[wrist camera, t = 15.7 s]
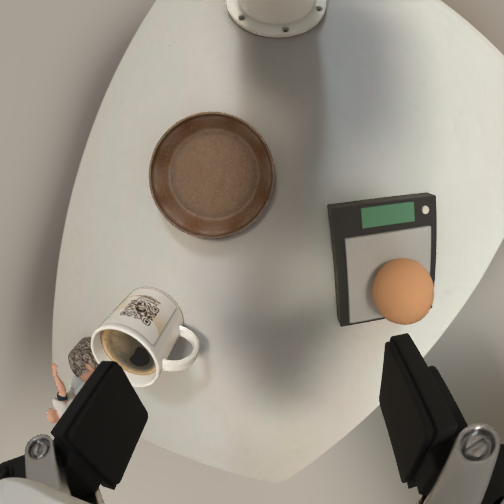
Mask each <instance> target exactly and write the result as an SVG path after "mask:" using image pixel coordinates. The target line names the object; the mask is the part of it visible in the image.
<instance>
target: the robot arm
mask: <svg viewBox="0 0 504 504" xmlns="http://www.w3.org/2000/svg"><path fill="white" fill-rule="evenodd" d="M326 5H327V0H226V7H227V9H228V12H229V14H230V16H231V17H232V19H233V20H234V21H235V22H236V23H237V24H238V25H240V26H241V27H242V28H244V29H246V30H247V31H249V32H251V33H254V34H257V35H261V36H266V37H276V38H282V37H291V36H295V35H299V34H302V33H304V32H307V31H308V30H310V29H311V28H313V27H314V26H315V25H317V24H318V23H319V22H320V20H321V19H322V17H323V16H324V13H325V10H326ZM317 10H318V11H317ZM242 19H244V20H243V21H241V20H242ZM283 31H287V32H283ZM379 401H380V406H381V410H382V413H383V416H384V420H385V423H386V426H387V430H388V433H389V437H390V440H391V444H392V447H393V451H394V455H395V458H396V462H397V466H398V470H399V473H400V478H401V481H402V482H403V483H405V482H407V484H408V488H409V489H410V488H413V487H416V486H417V487H418V491H419V494H421V497H420V498H419V500H418V502H417V503H416V504H504V445H503V444H500V438H499V435H498V433H497V432H496V430H495V429H493V428H492V427H491V426H488V425H486V424H473V425H470V426H468V425H467V423H466V421H465V419H464V417H463V416H462V414H461V412H460V410H459V408H458V406H457V404H456V402H455V401H454V399H453V397H452V395H451V393H450V391H449V389H448V387H447V386H446V384H445V382H444V380H443V378H442V377H441V375H440V373H439V372H438V370H437V369H436V367H434V366H430V367H428V366H427V364H426V363H425V361H424V359H423V357H422V356H421V354H420V352H419V350H418V349H417V347H416V345H415V344H414V342H413V340H412V339H411V337H410V335H409V334H408V333H405V334H401V335H397V336H392V337H391V338H390V342H386V344H385V352H384V363H383V372H382V380H381V388H380V395H379ZM147 419H148V413H147V411H146V409H145V407H144V406H143V404H142V402H141V401H140V399H139V397H138V395H137V394H136V392H135V390H134V388H133V387H132V385H131V383H130V381H129V379H128V377H127V376H126V374H125V372H124V370H123V368H122V367H121V366H120V365H119V364H118V363H117V362H116V361H101V362H100V363H99V365H98V366H97V367H96V369H95V370H94V371H93V373H92V374H91V376H90V377H89V378H88V380H87V381H86V382H85V384H84V385H83V387H82V388H81V389H80V391H79V392H78V394H77V395H76V396H75V398H74V399H73V401H72V402H71V403H70V405H69V406H68V408H67V409H66V411H65V412H64V413H63V415H62V416H61V418H60V419H59V421H58V422H57V424H56V425H55V427H54V428H53V430H52V431H51V434H52V435H53V436H54V437H55V438H54V440H52V439H51V437H50V436H48V435H45V434H41V435H37V436H35V437H33V438H32V439H31V440H30V441H29V442H28V443H27V445H26V448H25V455H23V456H20V457H17V458H14V459H12V460H9V461H6V462H3V463H1V464H0V504H104V501H103V498H102V495H101V492H100V490H99V485H100V484H101V485H102V486H104V487H107V488H110V489H113V490H114V489H115V487H116V485H117V484H119V483H120V481H121V479H122V477H123V474H124V472H125V470H126V467H127V465H128V463H129V461H130V458H131V456H132V453H133V451H134V449H135V447H136V444H137V442H138V440H139V438H140V435H141V433H142V431H143V429H144V426H145V424H146V422H147Z"/></svg>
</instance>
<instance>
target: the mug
mask: <svg viewBox="0 0 504 504" xmlns="http://www.w3.org/2000/svg"><path fill="white" fill-rule="evenodd" d="M179 336H181V337H184V338H186V339H187V340H188V341H189V342H190V343H191V344H192V347H193V351H192V352H191V354H190V355H189V356H187V357H186V358H183V359H181V360H167V359H168V357H169V355H170V353H171V351H172V349H173V347H174V345H175V343H176V341H177V339H178V337H179ZM91 350H92V353H93V356H94V358H95V360H96V361H97V363H98V364H99V363H100V362H101V361H116V362H117V363H118V364H119V365H120V366H121V367H122V368H123V370H124V372H125V374H126V376H127V377H128V379H129V381H130V383H131V385H132V387H146V386H149V385H151V384H153V383H154V382H155V381H156V380H157V379H158V377H159V375H160V373H161V371H162V370H166V371H180V370H183V369H185V368H188V367H189V366H190V365H192V364H193V363H194V361H195V360H196V358H197V355H198V350H199V341H198V338H197V336H196V335H195V334H194V333H193V332H192V331H191V330H189V329H188V328H186V327H183V316H182V313H181V310H180V308H179V306H178V305H177V303H176V302H175V301H174V300H173V299H172V298H171V297H170V296H169V295H168V294H166V293H165V292H163V291H161V290H159V289H156V288H152V287H141V288H137V289H135V290H133V291H132V292H131V293H130V294H129V295H128V296H127V297H126V298H125V299H124V300H123V301H122V302H121V303H120V304H119V305H118V306H117V307H116V308H115V310H114V311H113V312H112V313H111V314H110V315H109V316H108V317H107V318H106V319H105V320H104V322H103V323H102V324H101V325H100V326H99V327H98V328H97V329H96V330H95V332H94V333H93V335H92V337H91Z"/></svg>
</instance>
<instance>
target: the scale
mask: <svg viewBox="0 0 504 504" xmlns="http://www.w3.org/2000/svg"><path fill="white" fill-rule="evenodd" d="M328 213H329V222H330V230H331V240H332V249H333V260H334V271H335V284H336V298H337V315H338V320H339V323H340V326H341V327H342V326H348V325H353V324H359V323H364V322H370V321H375V320H380V319H385V317H383V316H382V315H381V314H380V312H379V311H378V309H377V308H376V306H375V304H374V301H373V296H372V287H373V281H374V278H375V276H376V274H377V273H378V271H379V270H380V269H381V268H382V267H383V266H384V265H385V264H386V263H388V262H389V261H392V260H394V259H398V258H409V259H412V260H415V261H417V262H418V263H420V264H421V265H422V266H424V268H425V269H426V270H427V271H428V272H429V274H430V276H431V279H432V281H433V285H434V281H435V265H436V196H435V195H432V194H429V193H419V194H410V195H401V196H392V197H384V198H376V199H368V200H360V201H352V202H345V203H337V204H330V205H328ZM431 308H432V306H431Z"/></svg>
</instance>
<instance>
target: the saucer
mask: <svg viewBox="0 0 504 504" xmlns="http://www.w3.org/2000/svg"><path fill="white" fill-rule="evenodd" d="M274 176H275V172H274V164H273V159H272V156H271V153H270V150H269V148H268V146H267V144H266V142H265V141H264V139H263V138H262V136H261V135H260V134H259V133H258V132H257V131H256V130H255V129H254V128H253V127H252V126H251V125H249V124H248V123H247V122H245V121H243V120H242V119H240V118H238V117H235V116H233V115H230V114H226V113H221V112H203V113H198V114H194V115H191V116H188V117H186V118H184V119H182V120H180V121H179V122H177V123H176V124H174V125H173V126H172V127H171V128H170V129H169V130H167V132H166V133H165V134H164V135H163V136H162V137H161V139H160V140H159V142H158V143H157V145H156V147H155V149H154V152H153V155H152V158H151V162H150V167H149V184H150V190H151V193H152V197H153V199H154V202H155V204H156V206H157V207H158V209H159V210H160V212H161V213H162V215H163V216H164V217H165V218H166V219H167V220H168V221H169V222H170V223H171V224H172V225H173V226H175V227H176V228H178V229H179V230H181V231H183V232H185V233H187V234H189V235H192V236H196V237H200V238H212V239H213V238H223V237H227V236H230V235H233V234H236V233H238V232H240V231H242V230H244V229H245V228H247V227H248V226H249V225H251V224H252V223H253V222H254V221H255V220H256V219H257V218H258V217H259V216H260V214H261V213H262V212H263V210H264V209H265V207H266V206H267V204H268V201H269V199H270V197H271V194H272V190H273V186H274Z"/></svg>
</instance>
